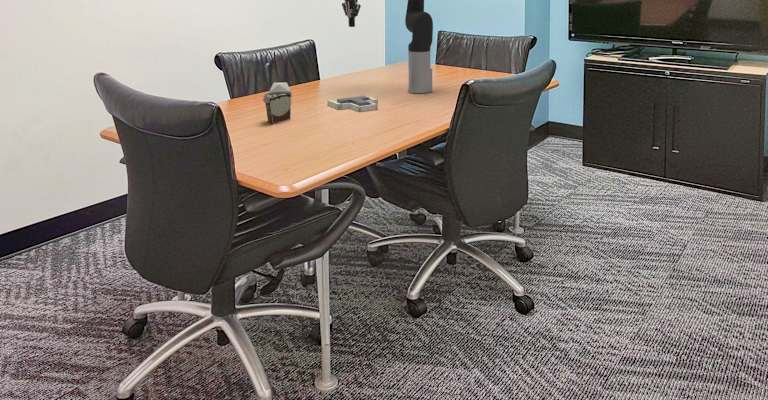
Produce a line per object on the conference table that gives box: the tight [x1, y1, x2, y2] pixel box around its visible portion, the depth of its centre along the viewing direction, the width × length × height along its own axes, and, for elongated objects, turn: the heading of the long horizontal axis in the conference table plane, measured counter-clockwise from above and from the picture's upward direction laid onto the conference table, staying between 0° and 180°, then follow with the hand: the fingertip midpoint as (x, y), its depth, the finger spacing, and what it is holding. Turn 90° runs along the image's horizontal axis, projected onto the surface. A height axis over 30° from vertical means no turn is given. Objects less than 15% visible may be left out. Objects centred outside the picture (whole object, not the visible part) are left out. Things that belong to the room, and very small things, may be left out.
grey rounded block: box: [268, 82, 293, 96], centre depth 303 cm, size 8×9×10 cm
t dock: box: [327, 94, 379, 113], centre depth 294 cm, size 17×18×2 cm
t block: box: [336, 95, 370, 106], centre depth 293 cm, size 12×12×3 cm
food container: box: [262, 91, 293, 125], centre depth 272 cm, size 12×6×10 cm, turn 145°
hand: (351, 26), depth 317 cm, fingers closed
